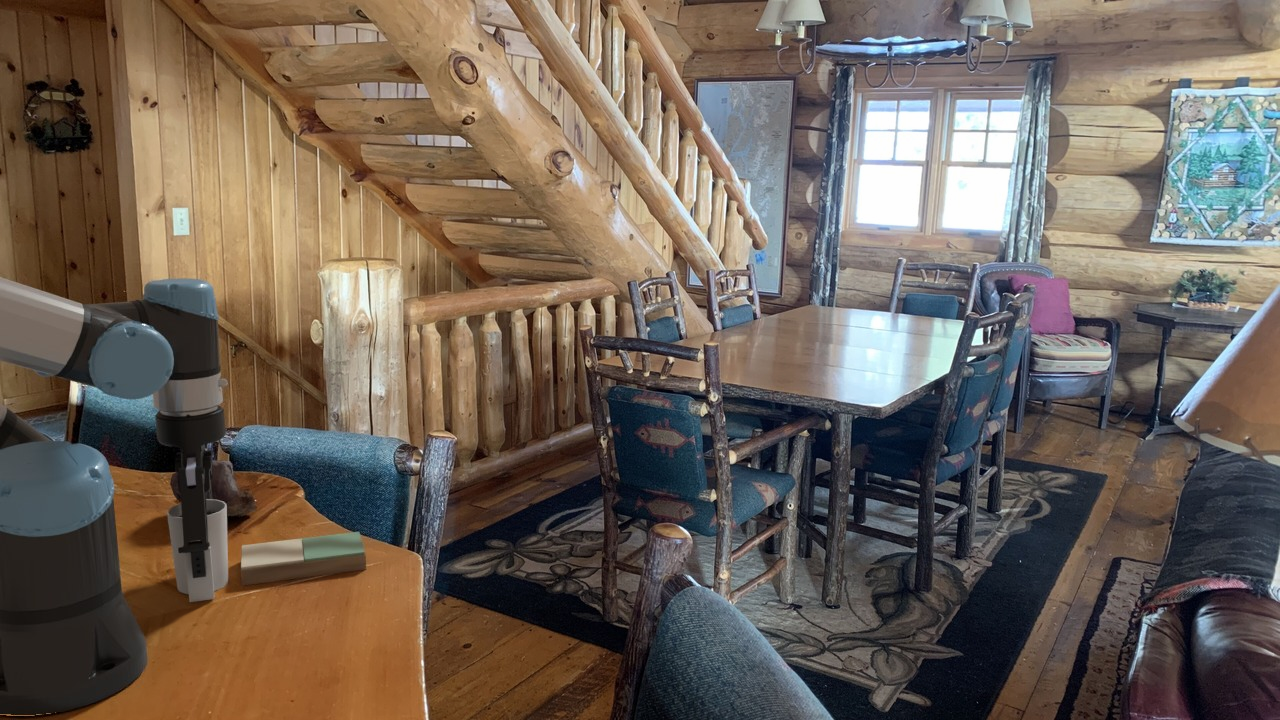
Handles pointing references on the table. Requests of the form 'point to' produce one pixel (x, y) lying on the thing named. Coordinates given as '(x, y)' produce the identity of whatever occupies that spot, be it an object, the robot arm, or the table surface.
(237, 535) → the table surface
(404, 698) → the table surface
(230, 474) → the rock
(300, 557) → the cream and green board
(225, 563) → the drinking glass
